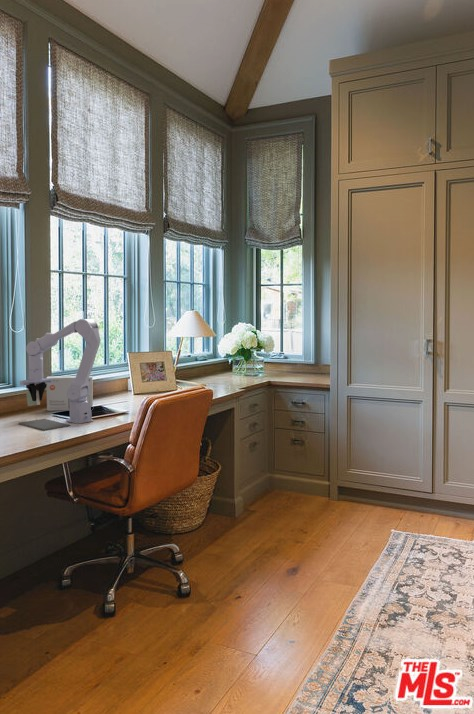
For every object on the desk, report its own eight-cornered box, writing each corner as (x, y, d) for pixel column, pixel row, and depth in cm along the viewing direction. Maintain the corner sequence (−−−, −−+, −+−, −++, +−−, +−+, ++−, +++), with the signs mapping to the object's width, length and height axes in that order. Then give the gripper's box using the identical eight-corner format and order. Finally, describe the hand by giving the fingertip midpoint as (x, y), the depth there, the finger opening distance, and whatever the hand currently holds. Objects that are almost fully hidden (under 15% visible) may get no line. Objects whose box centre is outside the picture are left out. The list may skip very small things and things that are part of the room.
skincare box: (46, 411, 283) (45, 377, 281) (47, 409, 288) (47, 376, 286) (92, 409, 287) (92, 376, 285) (93, 407, 292) (92, 375, 291)
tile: (40, 404, 261) (38, 390, 261) (35, 405, 259) (34, 391, 260) (32, 405, 266) (30, 392, 266) (27, 406, 264) (26, 392, 264)
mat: (70, 426, 247) (70, 424, 247) (43, 430, 238) (43, 429, 238) (44, 420, 261) (44, 418, 260) (18, 424, 252) (18, 422, 252)
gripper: (46, 367, 267) (47, 397, 269) (15, 370, 257) (16, 401, 258) (55, 368, 263) (55, 399, 264) (24, 371, 252) (25, 403, 253)
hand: (37, 400), depth 261 cm, fingers closed on tile, 2 cm apart
